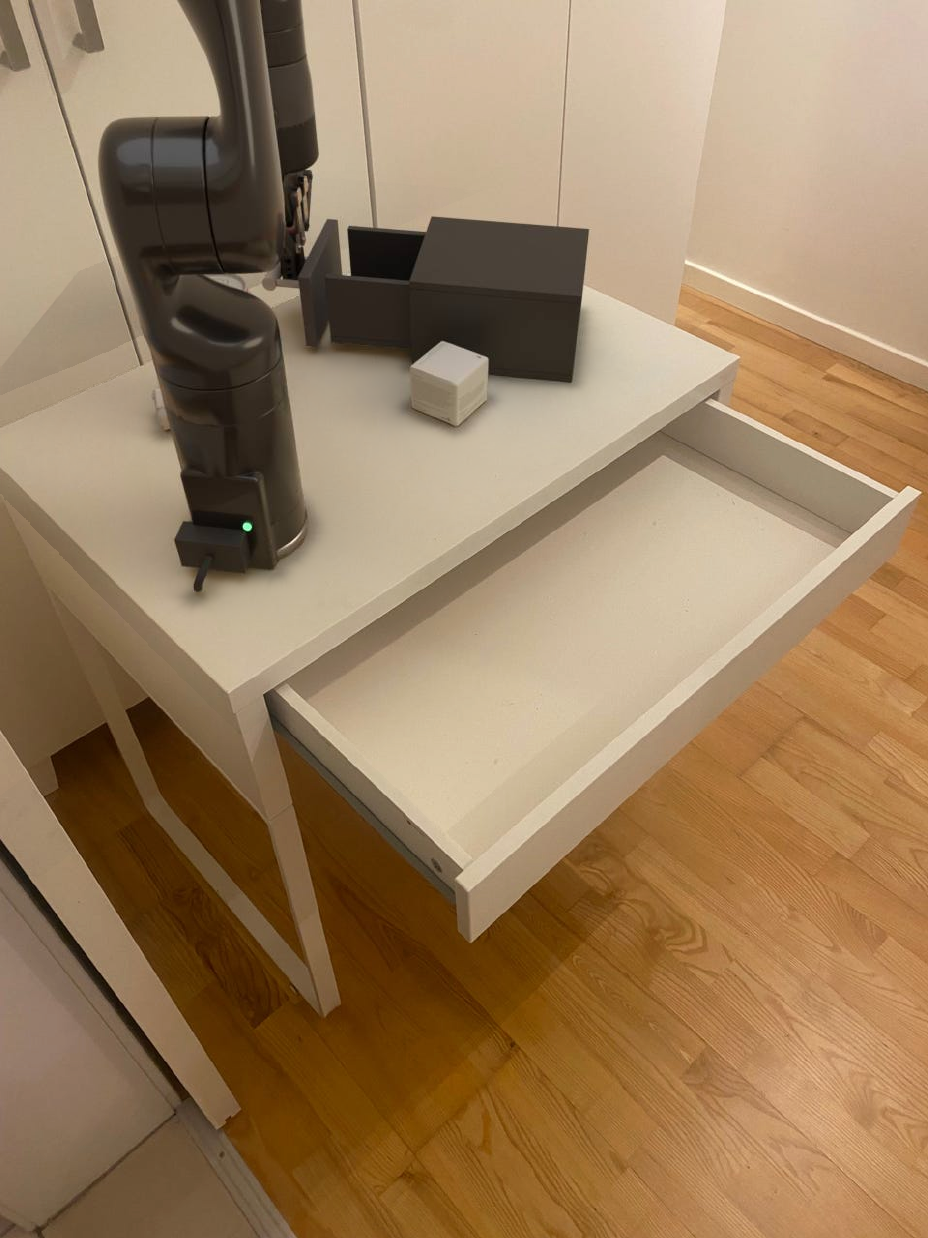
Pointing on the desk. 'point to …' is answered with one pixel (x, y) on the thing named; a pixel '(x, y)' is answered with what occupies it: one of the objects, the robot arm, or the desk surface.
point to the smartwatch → (160, 408)
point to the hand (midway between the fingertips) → (295, 282)
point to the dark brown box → (500, 294)
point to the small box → (449, 382)
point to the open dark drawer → (356, 286)
